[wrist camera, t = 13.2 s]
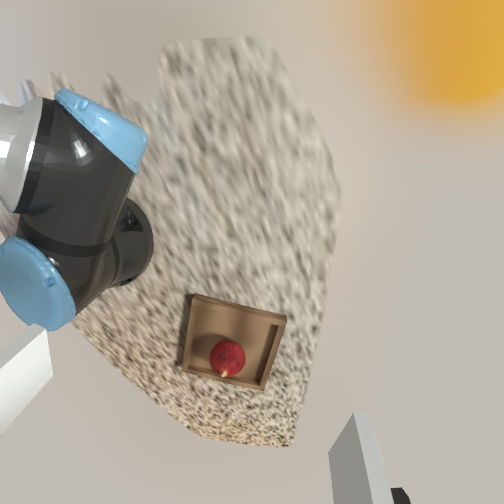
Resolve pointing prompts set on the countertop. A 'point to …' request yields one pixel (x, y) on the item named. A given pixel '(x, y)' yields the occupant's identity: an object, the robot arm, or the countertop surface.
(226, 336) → the tray
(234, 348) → the red fruit
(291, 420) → the countertop surface
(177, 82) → the countertop surface
